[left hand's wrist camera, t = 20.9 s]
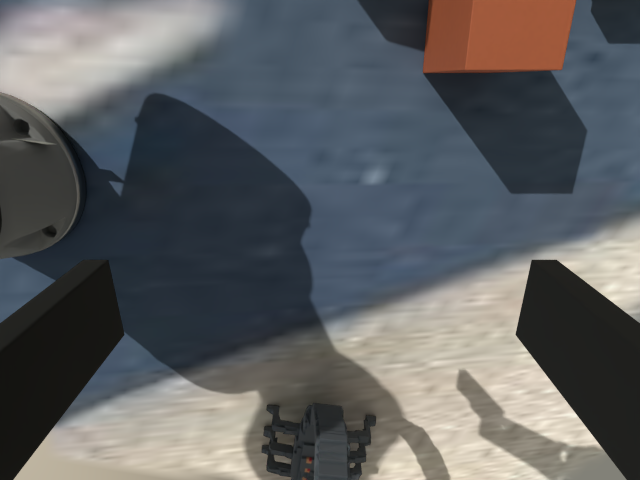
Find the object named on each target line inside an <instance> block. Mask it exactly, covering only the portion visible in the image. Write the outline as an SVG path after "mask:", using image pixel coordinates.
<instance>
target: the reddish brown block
mask: <svg viewBox="0 0 640 480" xmlns="http://www.w3.org/2000/svg"><path fill="white" fill-rule="evenodd" d="M575 3H576V0H429V6H428V18H427V30H426V42H425V53H424V65H423V73H499V72H523V71H548V70H562V67H563V62H564V57H565V53H566V48H567V43H568V38H569V33H570V28H571V23H572V18H573V13H574V8H575Z"/></svg>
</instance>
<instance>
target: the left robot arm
mask: <svg viewBox="0 0 640 480" xmlns="http://www.w3.org/2000/svg"><path fill="white" fill-rule="evenodd" d="M85 200H86V183H85V177H84V173H83V169H82V166H81V163H80V161H79V158H78V156H77V154H76V152H75V150H74V148H73V147H72V145H71V143H70V142H69V141H68V139H67V138H66V136H65V135H64V134H63V133H62V131H61V130H60V129H59V128H58V127H57V126H56V125H55V124H54V123H53V122H52V121H51V120H50V119H49V118H48V117H47V116H46V115H44V114H43V113H42V112H40V111H39V110H38V109H36V108H34V107H33V106H31V105H30V104H28V103H26V102H24V101H22V100H20V99H18V98H16V97H13V96H11V95H8V94H5V93H1V92H0V259H3V258H10V257H17V256H23V255H28V254H32V253H35V252H38V251H41V250H44V249H46V248H48V247H50V246H52V245H53V244H55V243H56V242H58V241H60V240H61V239H63V238H64V237H65V236H67V235H68V234H69V233H70V232H71V231H72V230H73V229H74V227H75V226H76V225H77V223H78V221H79V220H80V218H81V215H82V213H83V209H84V206H85ZM123 336H124V331H123V326H122V321H121V317H120V312H119V308H118V303H117V298H116V294H115V289H114V284H113V280H112V275H111V271H110V266H109V261H108V260H83V261H81V262H80V263H79V264H77V265H76V266H75V267H74V268H72V269H71V270H70V271H68V272H67V273H66V274H64V275H63V276H62V277H60V278H59V279H58V280H56V281H55V282H54V283H53V284H51V285H50V286H49V287H47V288H46V289H45V290H43V291H42V292H41V293H39V294H38V295H37V296H35V297H34V298H33V299H32V300H30V301H29V302H28V303H26V304H25V305H24V306H22V307H21V308H20V309H18V310H17V311H16V312H15V313H13V314H12V315H11V316H9V317H8V318H7V319H5V320H4V321H3V322H1V323H0V480H13V479H14V478H15V477H16V475H17V474H18V473H19V471H20V470H21V469H22V467H23V466H24V465H25V464H26V462H27V461H28V460H29V458H30V457H31V456H32V454H33V453H34V452H35V451H36V449H37V448H38V447H39V445H40V444H41V443H42V441H43V440H44V439H45V438H46V436H47V435H48V434H49V432H50V431H51V430H52V428H53V427H54V426H55V424H56V423H57V422H58V421H59V419H60V418H61V417H62V415H63V414H64V413H65V411H66V410H67V409H68V408H69V406H70V405H71V404H72V402H73V401H74V400H75V398H76V397H77V396H78V394H79V393H80V392H81V391H82V389H83V388H84V387H85V385H86V384H87V383H88V381H89V380H90V379H91V378H92V376H93V375H94V374H95V372H96V371H97V370H98V368H99V367H100V366H101V364H102V363H103V362H104V361H105V359H106V358H107V357H108V355H109V354H110V353H111V351H112V350H113V349H114V348H115V346H116V345H117V344H118V342H119V341H120V340H121V338H122V337H123ZM516 336H517V337H518V338H519V340H520V341H521V342H522V344H523V345H524V346H525V348H526V349H527V350H528V351H529V353H530V354H531V355H532V357H533V358H534V359H535V361H536V362H537V363H538V364H539V366H540V367H541V368H542V370H543V371H544V372H545V374H546V375H547V376H548V378H549V379H550V380H551V381H552V383H553V384H554V385H555V387H556V388H557V389H558V391H559V392H560V393H561V394H562V396H563V397H564V398H565V400H566V401H567V402H568V404H569V405H570V406H571V408H572V409H573V410H574V411H575V413H576V414H577V415H578V417H579V418H580V419H581V421H582V422H583V423H584V424H585V426H586V427H587V428H588V430H589V431H590V432H591V434H592V435H593V436H594V438H595V439H596V440H597V441H598V443H599V444H600V445H601V447H602V448H603V449H604V451H605V452H606V453H607V454H608V456H609V457H610V458H611V460H612V461H613V462H614V464H615V465H616V466H617V468H618V469H619V470H620V471H621V473H622V474H623V475H624V477H625V478H626V479H627V480H640V323H639V322H637V321H636V320H635V319H633V318H632V317H631V316H629V315H628V314H627V313H625V312H624V311H623V310H622V309H620V308H619V307H618V306H616V305H615V304H614V303H612V302H611V301H610V300H608V299H607V298H606V297H605V296H603V295H602V294H601V293H599V292H598V291H597V290H595V289H594V288H593V287H591V286H590V285H589V284H587V283H586V282H585V281H584V280H582V279H581V278H580V277H578V276H577V275H576V274H574V273H573V272H572V271H570V270H569V269H568V268H566V267H565V266H564V265H563V264H561V263H560V262H559V261H557V260H532V261H531V266H530V271H529V275H528V280H527V284H526V289H525V294H524V298H523V303H522V308H521V312H520V317H519V321H518V326H517V331H516Z"/></svg>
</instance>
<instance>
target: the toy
mask: <svg viewBox="0 0 640 480" xmlns="http://www.w3.org/2000/svg"><path fill="white" fill-rule="evenodd" d="M267 411H269V412H270V413H271V414H273V419H272V427H266V426H265V428H264V436H266V437H269V438H270V443H269V446H265V445H262V453H265V454H267V455H268V459H267V471H268V472H271V473H274V474H279V475H280V476H288V477H291V480H359V477H360V476H361V475H362V471H361V463H364V462H366V451H365V446H367V445H370V444H371V434H370V427H371V426H375V423H376V417H375V416H366V420H364V429H363V431H360V430H356V431H347V428H346V424H345V422H344V419H343V409H342V406H336V405H327V404H318V403H313V405H309V406H308V407H307V409H306V411H305V415H304V417H303V418H302V421H301V423H293V422H289V421H284V420H280V417H279V406H273V405H267ZM275 431H277V432H283V434H293V435H295V441H294V446H293V447H292V446H291V445H286V444H280V443H277V438H275ZM349 442H350V443H359V448H358V450H357V451H350V443H349ZM274 455H280V456H285V457H287V458H290V459H292V461H291V464H287V463H282V462H276V461H275V460H274ZM350 463H355V467H354V468H350Z"/></svg>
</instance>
